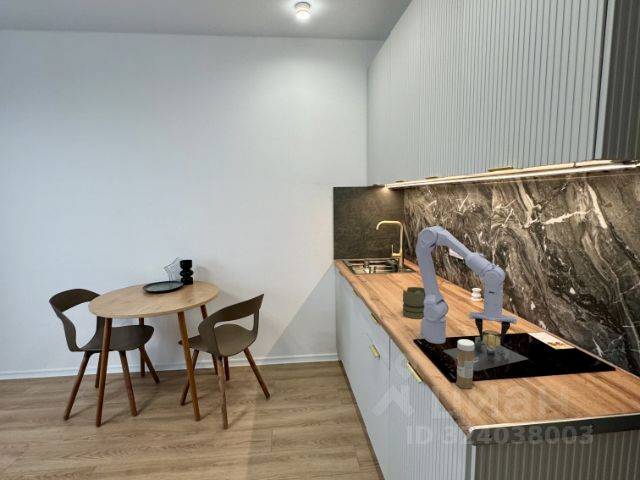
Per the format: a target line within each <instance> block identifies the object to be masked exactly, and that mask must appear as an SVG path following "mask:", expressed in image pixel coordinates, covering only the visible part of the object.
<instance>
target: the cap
mask: <svg viewBox="0 0 640 480" xmlns="http://www.w3.org/2000/svg"><path fill="white" fill-rule="evenodd" d="M500 340H501V332H499V331H496V330H492V329H487V330H483V341H482V342H483V343H484V344H486V345H488V346H489V348H493V346H500V345H501V344H500Z"/></svg>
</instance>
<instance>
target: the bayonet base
mask: <svg viewBox="0 0 640 480" xmlns="http://www.w3.org/2000/svg"><path fill="white" fill-rule="evenodd" d="M442 352H444V353H445V354H447V355H449V356H451V357H452V358H453V359H455V360H457V361H458V347H455V348H450V349H444V350H442ZM525 360H529V358H528V357H526V356H524V355H521V354H520V353H517V352H515V351H513V350H511V349H508V348H507V347H504V346H503V345H501V344H500V346H493V348H489V346H488V345H486V344H484V343H483V341H480V336H477V337H474V351H473V371H476V372H479V371H483V370H488V369H490V368H495V367H500V366H504V365H507V364H512V363H517V362H520V361H525Z"/></svg>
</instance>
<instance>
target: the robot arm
mask: <svg viewBox="0 0 640 480" xmlns="http://www.w3.org/2000/svg"><path fill="white" fill-rule="evenodd" d="M436 246H444V247H445V246H446V247H447V248H449V249H450V250H451V251H453V252H454V253H455V254H457V255H458V256H460V257H461V258H462V259H464V261H465V265H466V266H467V267H468V268H469V269H471V271H472V272H474V273H475V274H477V276H479V277H480V278H481V279H482V282H483V284H484V292H483V293H484V294H483V312H479V311H478V312H476V311H475V312H474V311H473V312H471V311H470V312H469V315H468V316H469V317H468V318H469V320H474V324H475V326H476V328H477V330H478V334H479V337H480V341H482V342H483V331H484V330H483V329H484V328H483V327H484V321H489V322H496V323H497V322H498V323H500V324H501V326H500V329H501V330H500V334H501V340H500V345H501V344H503V342H504V339H505V336H506V334H507V333H508V331H509V329H510V328H511V324H512V325H517V321H518V319H517V316H511V315H505V314H503V303H504V302H503V299H504V298H503V297H504V289H503V288H504V281H505V280H506V272H505V271H504V270H503V268H502V267H500V266H496V264H495V263H492V262H490V261H489V260H487V259H486V258H485V257H484V256H485V255H484V254H483V253H479V252H477V251H476V252H472V251H471V250H469V249H468V248H467V247H466V246H465V245H464V244H463V243H462V242H460V241H459V240H458V239H457V238H456V237H455V236H453V234H452V233H450V232H449V230H447V229H444V227H442V226H441V225H434V226H428V227H424V228H423V229H422V230H421V231H420V232H419V233H418V234H417V241H416V244H415V255H416V259H417V263H418V269H419V271H420V277H421V282H422V287H423V288H424V291H425V295H426V296H425V300H424V311H423V313H424V316H425V317H423V318H422V319H420V331H419V332H420V336H418V339H419V340H422V339H425V340H426V341H427V342H428V343H431V344H435V345H436V344H439V345H440V344H444V343H445V342H446V340H447V339H446V336H447V335H446V334H447V332H446V331H447V317H446V315H447V314H448V312H449V308H450V307H449V304H448V303H447V302H446V300H445V297H444V295H443V294H442V293H441V292H440V287H439V283H438V279H437V274H436V269H435V266H434V261H433V257H432V252H433V250H434V248H435V247H436Z"/></svg>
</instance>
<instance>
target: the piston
mask: <svg viewBox="0 0 640 480" xmlns="http://www.w3.org/2000/svg"><path fill="white" fill-rule="evenodd" d="M425 296H426V295H425V291H424V287H419V286H407V288H406V290H405V289H403V290H402V316H403V317H404V318H406V319H411V320H422V318H423V317H425V316H424V313H423V311H424V300H425Z"/></svg>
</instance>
